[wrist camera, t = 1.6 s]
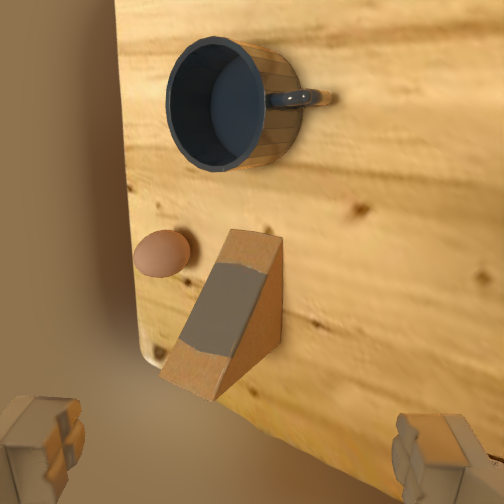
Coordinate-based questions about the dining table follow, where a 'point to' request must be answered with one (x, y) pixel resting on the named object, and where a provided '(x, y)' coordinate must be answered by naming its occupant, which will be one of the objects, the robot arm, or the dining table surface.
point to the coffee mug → (235, 104)
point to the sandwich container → (231, 317)
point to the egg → (162, 254)
